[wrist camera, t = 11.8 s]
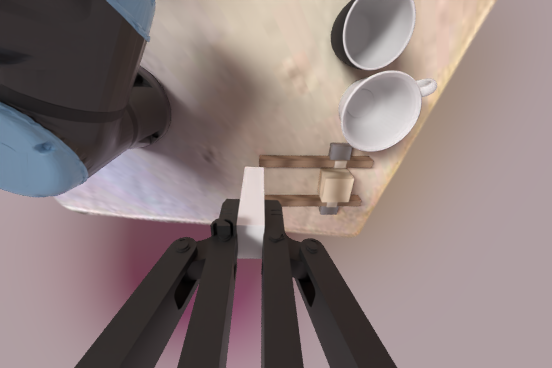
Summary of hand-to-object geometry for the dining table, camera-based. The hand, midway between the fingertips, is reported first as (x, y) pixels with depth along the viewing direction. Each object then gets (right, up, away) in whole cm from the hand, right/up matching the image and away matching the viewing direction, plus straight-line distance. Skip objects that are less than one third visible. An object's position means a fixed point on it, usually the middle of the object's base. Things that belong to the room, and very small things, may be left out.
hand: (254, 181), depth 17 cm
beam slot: (+10, +1, +32) cm, 33 cm away
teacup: (+19, +16, +23) cm, 34 cm away
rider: (+15, +1, +32) cm, 35 cm away
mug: (+15, +25, +17) cm, 34 cm away
